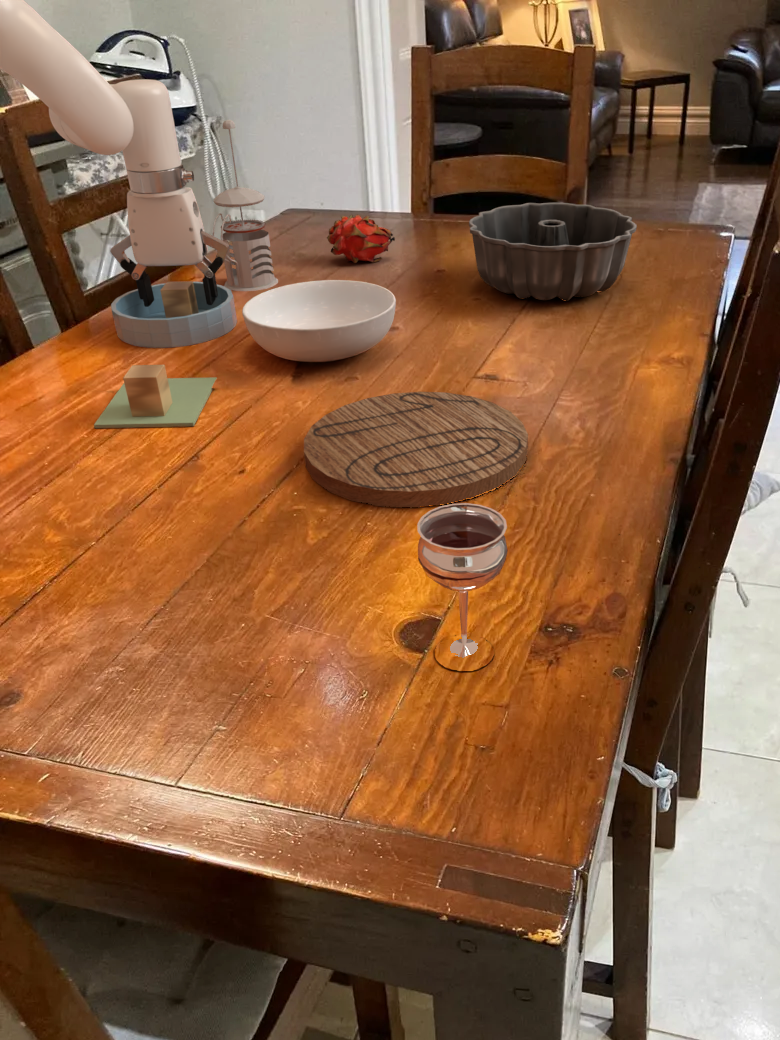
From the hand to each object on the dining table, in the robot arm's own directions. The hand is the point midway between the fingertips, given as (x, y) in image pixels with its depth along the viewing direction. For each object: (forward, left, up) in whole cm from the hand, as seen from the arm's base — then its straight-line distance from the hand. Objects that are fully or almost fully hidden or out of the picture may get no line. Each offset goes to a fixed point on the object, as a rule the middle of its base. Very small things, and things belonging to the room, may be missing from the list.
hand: (180, 303), depth 141 cm
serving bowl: (+23, -14, -3) cm, 27 cm away
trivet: (+37, -46, -3) cm, 59 cm away
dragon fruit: (+25, +30, -3) cm, 40 cm away
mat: (+4, -31, -3) cm, 31 cm away
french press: (+7, +16, -3) cm, 18 cm away
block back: (0, 0, -2) cm, 2 cm away
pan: (0, -4, -3) cm, 4 cm away
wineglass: (+42, -82, -3) cm, 92 cm away
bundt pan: (+57, +13, -3) cm, 59 cm away
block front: (+4, -34, -2) cm, 34 cm away
